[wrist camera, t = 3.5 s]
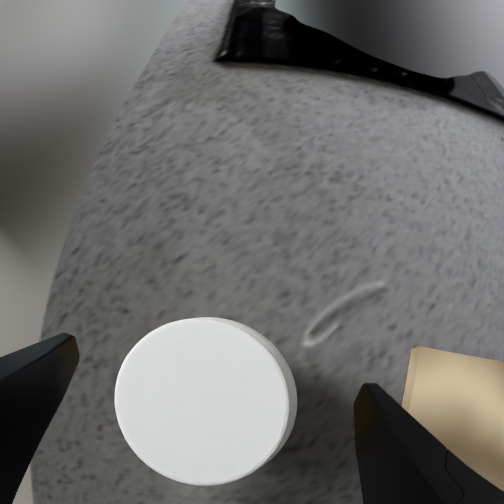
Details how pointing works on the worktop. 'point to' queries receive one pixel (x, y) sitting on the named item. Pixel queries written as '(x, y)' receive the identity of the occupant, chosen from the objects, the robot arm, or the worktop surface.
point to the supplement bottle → (205, 400)
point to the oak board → (460, 406)
